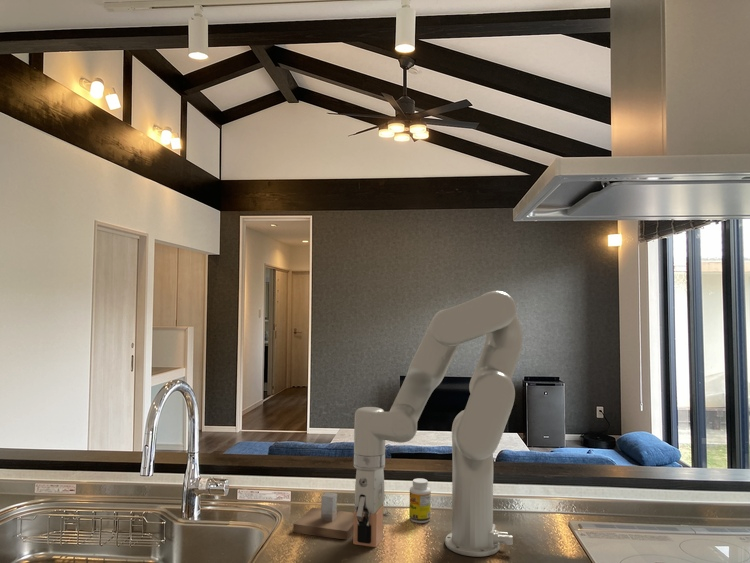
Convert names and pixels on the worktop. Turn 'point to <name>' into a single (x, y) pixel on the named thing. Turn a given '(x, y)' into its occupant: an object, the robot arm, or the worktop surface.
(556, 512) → the worktop surface
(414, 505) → the supplement bottle
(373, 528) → the peach upright block
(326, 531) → the walnut base board
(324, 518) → the metal post
